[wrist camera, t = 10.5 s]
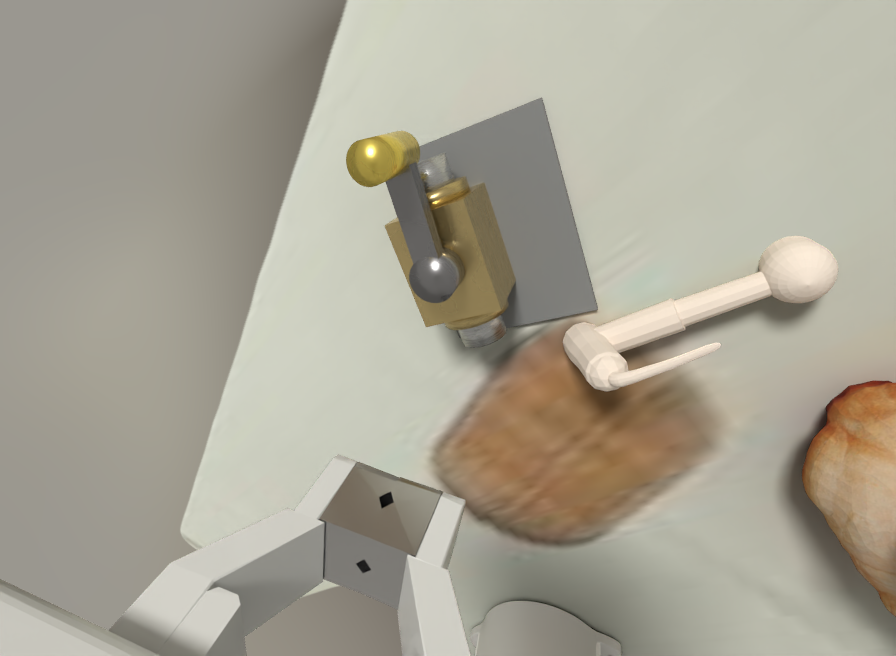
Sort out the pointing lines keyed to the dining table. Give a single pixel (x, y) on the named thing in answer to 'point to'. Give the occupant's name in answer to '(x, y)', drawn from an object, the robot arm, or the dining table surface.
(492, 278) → the valve body
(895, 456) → the ceramic vessel
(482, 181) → the valve base plate
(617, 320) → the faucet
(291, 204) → the dining table surface
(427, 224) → the valve lever
